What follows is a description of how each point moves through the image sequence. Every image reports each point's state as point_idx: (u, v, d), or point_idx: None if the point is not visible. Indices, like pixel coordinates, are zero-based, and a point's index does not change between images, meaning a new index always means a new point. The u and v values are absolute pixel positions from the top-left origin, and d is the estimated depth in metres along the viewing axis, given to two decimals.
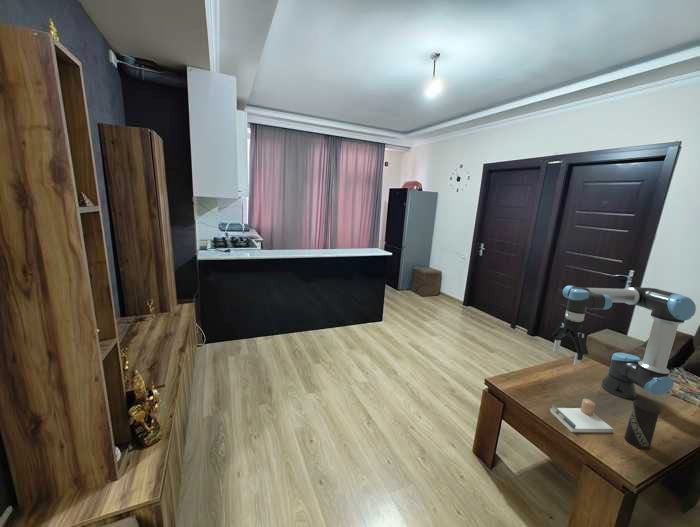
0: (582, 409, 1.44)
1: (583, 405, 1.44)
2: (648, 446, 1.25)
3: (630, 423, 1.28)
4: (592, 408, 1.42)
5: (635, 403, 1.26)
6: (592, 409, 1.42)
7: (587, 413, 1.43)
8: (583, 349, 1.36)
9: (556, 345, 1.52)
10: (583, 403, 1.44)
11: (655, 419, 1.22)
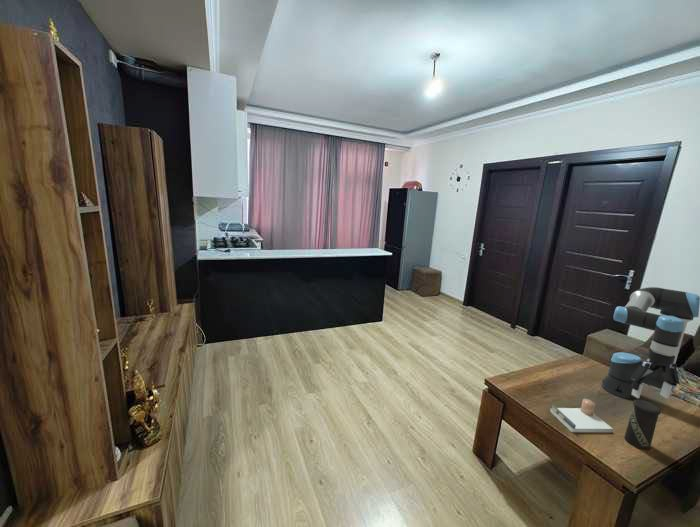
0: (582, 409, 1.44)
1: (583, 405, 1.44)
2: (648, 446, 1.25)
3: (630, 423, 1.28)
4: (592, 408, 1.42)
5: (635, 403, 1.26)
6: (592, 409, 1.42)
7: (587, 413, 1.43)
8: (633, 375, 1.23)
9: (664, 388, 1.24)
10: (583, 403, 1.44)
11: (655, 419, 1.22)
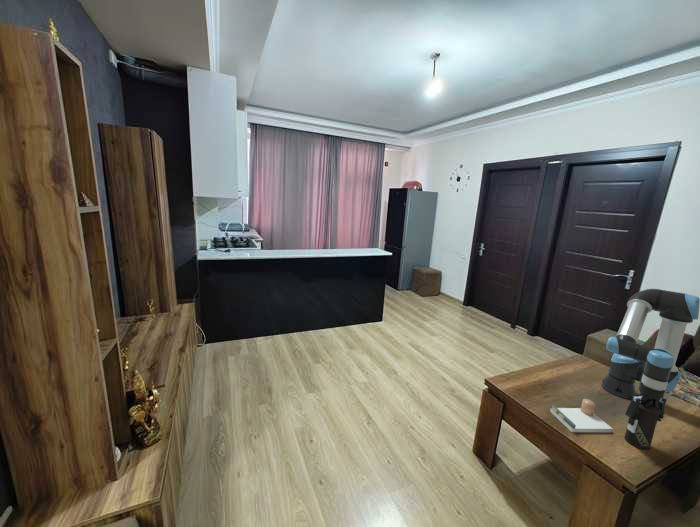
0: (582, 409, 1.44)
1: (583, 405, 1.44)
2: (648, 446, 1.25)
3: None
4: (592, 408, 1.42)
5: None
6: (592, 409, 1.42)
7: (587, 413, 1.43)
8: (627, 410, 1.26)
9: None
10: (583, 403, 1.44)
11: (655, 419, 1.22)
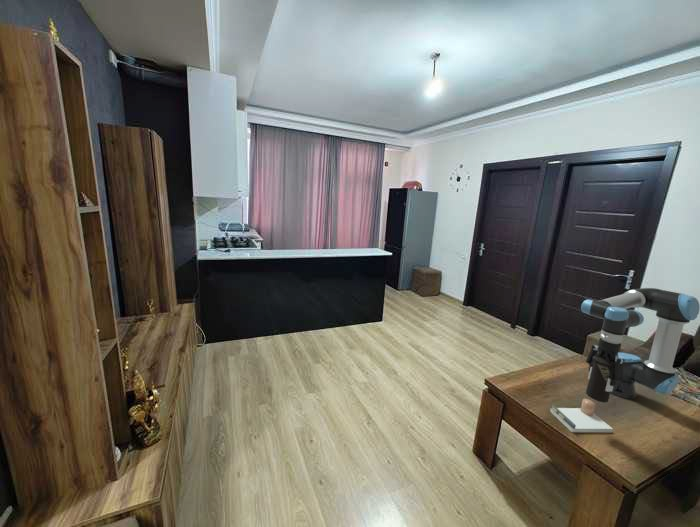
0: (582, 409, 1.44)
1: (583, 405, 1.44)
2: None
3: None
4: (592, 408, 1.42)
5: (610, 364, 1.27)
6: (592, 409, 1.42)
7: (587, 413, 1.43)
8: (618, 375, 1.24)
9: None
10: (583, 403, 1.44)
11: None
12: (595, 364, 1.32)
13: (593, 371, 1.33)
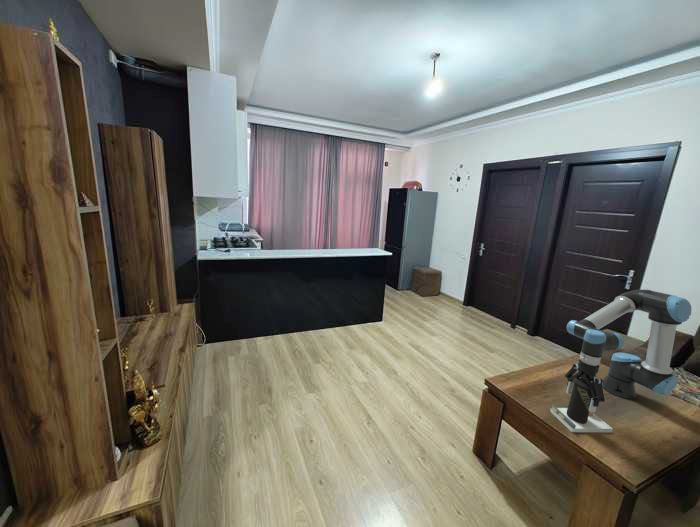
0: None
1: None
2: None
3: (584, 407, 1.35)
4: None
5: (589, 387, 1.33)
6: None
7: None
8: (600, 396, 1.28)
9: (570, 386, 1.44)
10: None
11: None
12: (575, 386, 1.38)
13: (573, 393, 1.39)
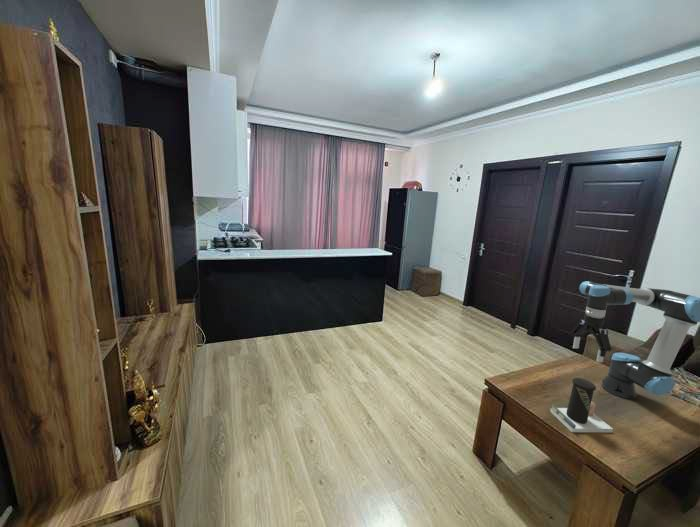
0: None
1: None
2: None
3: (584, 407, 1.35)
4: (592, 408, 1.42)
5: (588, 387, 1.33)
6: (592, 409, 1.42)
7: None
8: (606, 346, 1.34)
9: (576, 341, 1.51)
10: None
11: None
12: (574, 386, 1.38)
13: (572, 393, 1.39)
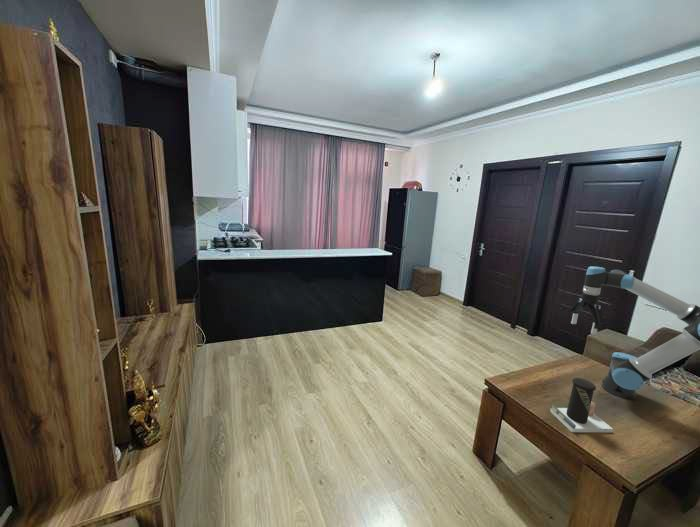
0: None
1: None
2: None
3: (584, 407, 1.35)
4: (592, 408, 1.42)
5: (588, 387, 1.33)
6: (592, 409, 1.42)
7: None
8: (600, 319, 1.53)
9: (574, 318, 1.70)
10: None
11: None
12: (574, 386, 1.38)
13: (572, 393, 1.39)
